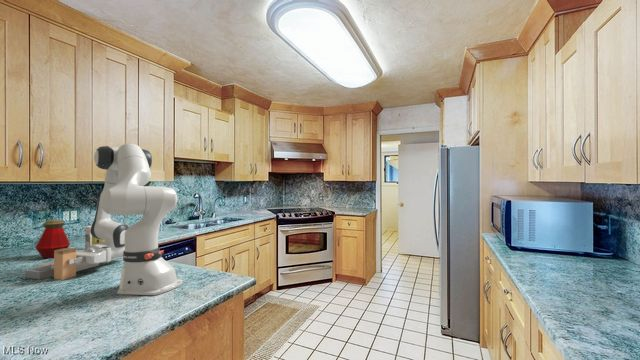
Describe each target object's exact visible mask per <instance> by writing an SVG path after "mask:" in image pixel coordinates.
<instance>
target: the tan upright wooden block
mask: <svg viewBox="0 0 640 360" xmlns="http://www.w3.org/2000/svg"><path fill="white" fill-rule="evenodd" d="M76 250H77V248H76V247H75V248H74V247H68V248H63V249H58V250H54V258H53V261H54V276H53V279H54V280H61V281H62V280H63V281H64V280H66V279H71V278H75V277H76V276H77V272H76V263H73V264H68V263H67V260H68V259H75V258H76Z"/></svg>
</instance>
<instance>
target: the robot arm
mask: <svg viewBox="0 0 640 360" xmlns="http://www.w3.org/2000/svg"><path fill="white" fill-rule="evenodd" d="M93 161H94V163H95V166H96V167H97V168H99V169H100V170H105V171H106V172H105V178H104V186H103V189H102V191H101V192H100V193H99V195H98V198H97V199H98V200H97V205H96V210H95V214H94V215H95V216H94V219H93V221H92V224H91V225H92V226H91V229H90V232H91V235H92V236H93V237H94V238H98V239H103V240H105V241H104V242H103V243H99V244H94V245H91V246H89V247H88V249H87V250H85V249H76V258H75V259H68V260H67V263H68V264H73V263H88V264H96V263H99V264H100V263H109V262H111V260H112V259H117V258H120V257H122V260H123V266H122V270H121V272H120V273H121V275H120V280H119V281H120V282H119V287H118V290H117V292H116V294H117V295H130V296H131V295H134V296H135V295H137V296H139V295H141V296H156V295H160V294H163V293H167V292H169V291H172V290H174V289H176V288H178V287H180V286H181V285H182V284H183V283H184V281H183V279H181V278H177V274H176V269H175V267H173V265H171V264H170V263H168V261H166V260H165V259H164V258H163V257H162V256H163V255H162V254H163V253H164V251H165V250H164V249H163V250H160V247H159V233H160V232H159V231H160V228H161V227H160V226H161V224H162V222H163V220H164V218H165V217H166V216H167V215H168V214H169V213H170V212H171V211H173V210H174V209H175V208H176V206H177V204H178V201H179V200H178V199H179V198H178V194H177V192H176V191H175V189H173V188H172V187H168V186H167V187H166V186H161V185H160V186H159V185H158V186H157V185H155V186H154V185H153V186H151V185H150V186H148V185H147V184H148V183H150V181H151V178H152V172H151V167H152V164H153V156H152V153H151V151H149V150H147V149H143V148H141V147H140V146H139V145H138V144H135V143H123V144H122V145H120V146H109V145H104V146H99V147H98V148H96V150H95V152H94V155H93ZM146 185H147V186H146ZM113 215H115V216H131V215H133V216H134V215H142V216H141V218H140V220H139V221H138V222H135V223H134V224H131V225H130V226H128V225H127V224H124V223H122V222H121V223H120V222H116V221H114V220H112V218H111V216H113Z"/></svg>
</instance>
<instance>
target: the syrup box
mask: <svg viewBox="0 0 640 360" xmlns="http://www.w3.org/2000/svg"><path fill="white" fill-rule="evenodd" d="M91 226H92V224H90V225H87V226H86V225H85V229H84V230H85V232H84V233H85V234H84V236H85V237H84V238H85V241H84V243H85V244H84V245H85V246H84V247H85V249H84V250H87V249H88V247H89V246H91V245H92V235H91V232H90V229H91Z"/></svg>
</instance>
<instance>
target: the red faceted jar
mask: <svg viewBox="0 0 640 360" xmlns="http://www.w3.org/2000/svg"><path fill="white" fill-rule="evenodd" d="M43 226H44V231H43V233H42V234H41V236H40V238H39V241H38V242H37V244H36V246H35V249H36V252H37V251H38V253H39V255H40V256H41V258H42V259H54V250H58V249H63V248H70V245H71V243H70V241H69V239H68V236H67V234H66V232H65V230H64V228H63V227H64V226H65V221H63V220H62V219H48V220H46V221H45V222H44V223H43Z"/></svg>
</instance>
